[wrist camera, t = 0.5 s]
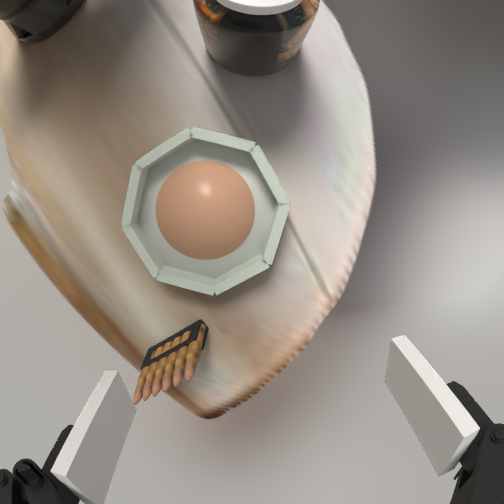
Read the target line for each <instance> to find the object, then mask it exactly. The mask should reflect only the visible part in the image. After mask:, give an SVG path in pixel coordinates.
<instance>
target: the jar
mask: <svg viewBox="0 0 504 504" xmlns="http://www.w3.org/2000/svg"><path fill="white" fill-rule="evenodd" d="M319 2H320V0H193V3H194V8H195V12H196V16H197V19H198V23H199V26H200V30H201V33H202V36H203V39H204V42H205V45H206V48H207V50H208V52H209V54H210V56H211V57H212V58H213V60H214V61H215V62H216V63H218V64H219V65H220V66H222V67H223V68H225V69H227V70H229V71H231V72H234V73H237V74H241V75H246V76H262V75H268V74H272V73H275V72H277V71H279V70H281V69H283V68H284V67H286V66H287V65H288V64H289V63H290V62H291V61H292V60H293V59H294V57H295V55H296V54H297V52H298V50H299V48H300V46H301V44H302V42H303V41H304V39H305V37H306V35H307V33H308V31H309V29H310V27H311V25H312V23H313V21H314V19H315V16H316V14H317V11H318V7H319Z"/></svg>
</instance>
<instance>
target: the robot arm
mask: <svg viewBox="0 0 504 504" xmlns="http://www.w3.org/2000/svg"><path fill="white" fill-rule="evenodd" d="M82 2H83V0H0V19H1V20H3V21H4V22H5V24H6V25H7V27H8V28H9V29H10V31H11V32H12V34H13V35H14V36H15V37H16V38H17V39H18V40H21V41H23V42H25V43H36V42H39V41H41V40H43V39H45V38H47V37H49V36H50V35H52V34H53V33H55V32H56V31H57V30H58V29H60V28H61V27H62V26H63V25H64V24H65V23H66V22H67V21H68V20H69V19H70V18H71V17H72V16H73V14H74V13H75V12H76V11H77V9H78V8H79V7H80V5H81V3H82ZM385 383H386V384H387V386H388V388H389V389H390V391H391V393H392V394H393V396H394V398H395V399H396V401H397V403H398V405H399V406H400V408H401V410H402V411H403V413H404V415H405V417H406V418H407V420H408V422H409V424H410V425H411V427H412V429H413V431H414V432H415V434H416V436H417V437H418V440H419V441H420V443H421V445H422V447H423V449H424V450H425V452H426V454H427V456H428V458H429V460H430V461H431V463H432V465H433V467H434V469H435V471H436V472H437V475H438V476H441V475H443V474H445V473H447V472H449V471H451V470H453V469H454V468H455V466H456V465H457V464H458V462H459V461H460V463H461V465H462V467H461V469H460V470H459V471H458V473H457V474H456V476H455V477H454V480H456V478H457V477H458V480H457V483H456V487H455V490H454V493H453V496H452V499H451V502H450V504H504V424H500V423H499V424H494V423H493V422H492V421H491V420H490V418H489V417H488V416H487V415H486V414H485V412H484V411H483V410H482V408H481V407H480V406H479V405H478V403H477V402H476V401H474V399H473V397H472V396H471V395H469V393H468V391H467V390H466V389H465V388H464V387H463V386H462V385H460V384H458V383H456V382H455V381H453V382H451V383H448V384H445V382H444V381H443V380H442V379H441V378H440V376H439V375H438V374H437V373H436V371H434V369H433V368H432V367H431V365H430V364H429V363H428V362H427V361H426V359H425V358H424V357H423V356H422V355H421V353H420V352H419V351H418V350H417V349H416V348H415V346H414V345H413V344H412V343H411V342H410V341H409V339H408V338H407V337H406V336H405V335H403V336H399V337H395V338H391V342H390V350H389V357H388V363H387V369H386V375H385ZM135 412H136V407H135V406H134V404H133V402H132V400H131V398H130V396H129V394H128V392H127V389H126V387H125V385H124V383H123V381H122V379H121V377H120V375H119V372H118V371H105V372H104V374H103V375H102V377H101V379H100V380H99V382H98V384H97V386H96V387H95V389H94V391H93V393H92V394H91V396H90V398H89V399H88V401H87V403H86V405H85V407H84V408H83V410H82V412H81V414H80V415H79V417H78V419H77V421H76V423H75V425H68V426H67V427H66V428H65V429H64V430H63V431H62V432H61V434H60V436H59V437H58V439H57V440H58V441H56V443H55V445H54V448H53V449H52V450H51V452H50V454H49V456H48V458H47V460H46V462H45V464H44V466H43V468H42V469H40V468H39V466H38V465H37V464H36V463H35V462H34V461H32V460H31V459H22V460H20V461H18V462H17V463H16V464H15V466H14V468H13V474H12V473H11V472H10V471H8V470H6V469H0V504H78V503H79V500H81V501H83V502H84V503H85V504H104V501H105V498H106V495H107V492H108V489H109V486H110V483H111V480H112V476H113V473H114V471H115V468H116V465H117V462H118V459H119V456H120V453H121V451H122V448H123V445H124V442H125V439H126V437H127V434H128V431H129V428H130V426H131V423H132V420H133V418H134V415H135Z"/></svg>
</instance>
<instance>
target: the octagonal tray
mask: <svg viewBox="0 0 504 504" xmlns="http://www.w3.org/2000/svg"><path fill="white" fill-rule="evenodd" d="M255 143H256V142H253V141H249V140H246V139H242V138H238V137H234V136H231V135H228V134H224V133H218V132H214V131H210V130H206V129H201V128H197V127H191V129H190V128H189V127H188V128H186V129H184V130H183V131H181V132H179V133H178V134H176V135H175V136H173V137H171V138H170V139H168V140H167V141H165V142H164V143H162V144H160V145H159V146H157V147H156V148H154V149H153V150H151V151H150V152H148V153H147V154H146V155H144V156H143V157H141V158H140V159H138V160H137V161H136V162H135V163H136V165H133V166H132V171H131V175H130V180H129V185H128V190H127V195H126V200H125V205H124V211H123V216H122V222H121V225H123V226H124V227H123V228H122V230H123V231H124V233H125V235H126V236H127V238H128V239H129V241H130V243H131V244H132V246H133V247H134V249H135V251H136V252H137V254H138V255H139V257H140V258H141V260H142V262H143V263H144V265H145V266H146V268H147V269H148V271H149V272H150V274H151V275H152V277H153V278H155V277H157V279H156V280H157V281H160V282H164V283H167V284H171V285H175V286H178V287H182V288H186V289H189V290H193V291H197V292H201V293H205V294H208V295H212V296H213V295H214V292H215V294H216V295H218V294H220V293H222V292H224V291H226V290H228V289H230V288H232V287H234V286H236V285H237V284H239V283H241V282H243V281H245V280H247V279H249V278H251V277H253V276H254V275H256V274H258V273H260V272H262V271H264V270H266V269H268V268H269V264H270V265H272V263H273V259H274V256H275V253H276V250H277V247H278V244H279V241H280V237H281V234H282V231H283V228H284V225H285V221H286V218H287V215H288V212H289V208H290V204H288V203H289V202H290V201H289V199H288V197H287V195H286V193H285V191H284V189H283V187H282V186H281V184H280V182H279V180H278V178H277V176H276V174H275V171H274V170H273V168H272V167H271V165H270V164H269V162H268V160H267V158H266V157H265V155H264V153H263V151H262V150H261V148H260V146H259V145H257V146H255Z"/></svg>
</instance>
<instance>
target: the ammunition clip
mask: <svg viewBox="0 0 504 504" xmlns="http://www.w3.org/2000/svg"><path fill="white" fill-rule="evenodd" d="M207 333H208V327H207V326H206V324H205V323H204V322H203V321H202V320H201V319H200V320H198V321H197V322H195V323H193V324H191V325H190V326H188V327H186V328H185V329H183V330H181V331H179V332H178V333H176V334H174V335H172V336H171V337H169V338H167V339H165V340H164V341H162V342H160V343H158V344H156V345H155V346H153V347H151V348H149V349H148V352H147V354H146V356H145V359H144V361H143V364H142V366H141V369H142V371H141V374H140V376H139V379H138V384H137V387H136V390H135V393H134V404H135V405H136V404H137V403H138V402H139V401H140V400H141V398H142V397H143V400H144V401H145V400H147V399H148V398H149V396H150V395H151V393H152V394H153V396H156V395H157V394H158V393H159V392H160V390H161V388H162V389H163V392H166V391H167V390H168V389H169V387H170V386H171V384H172V381H173V383H174V386H175V387H177V386H178V385H179V384H180V383H181V381H182V379H183V376H184V373H185V379H186V381H187V382H188V381H190V380H191V378H192V377H193V375H194V372H195V368H196V365H197V363H198V361H199V357H200V352H201V350H203V349H204V345H205V341H206V337H207Z"/></svg>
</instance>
